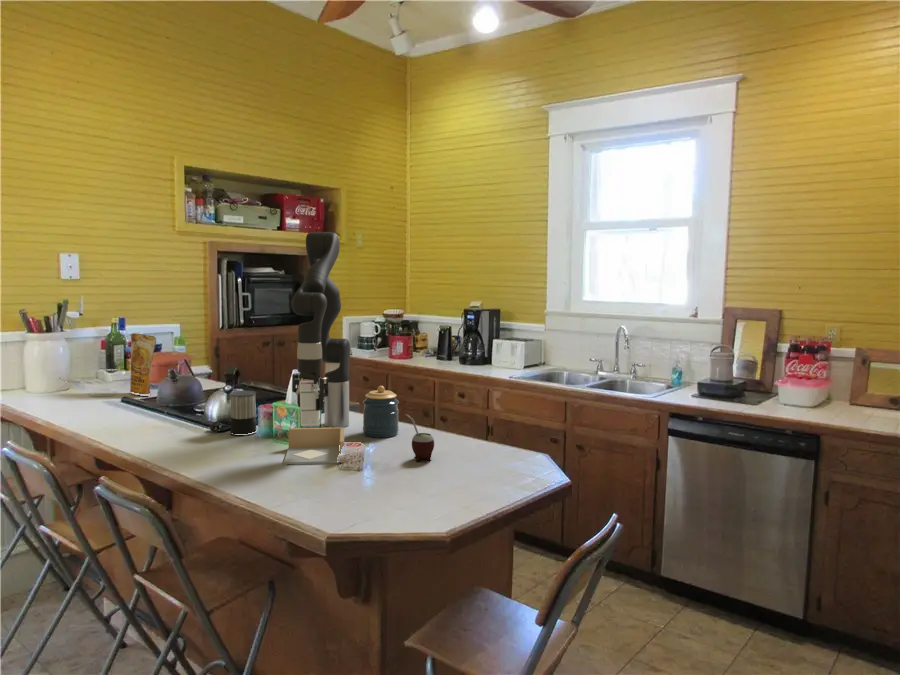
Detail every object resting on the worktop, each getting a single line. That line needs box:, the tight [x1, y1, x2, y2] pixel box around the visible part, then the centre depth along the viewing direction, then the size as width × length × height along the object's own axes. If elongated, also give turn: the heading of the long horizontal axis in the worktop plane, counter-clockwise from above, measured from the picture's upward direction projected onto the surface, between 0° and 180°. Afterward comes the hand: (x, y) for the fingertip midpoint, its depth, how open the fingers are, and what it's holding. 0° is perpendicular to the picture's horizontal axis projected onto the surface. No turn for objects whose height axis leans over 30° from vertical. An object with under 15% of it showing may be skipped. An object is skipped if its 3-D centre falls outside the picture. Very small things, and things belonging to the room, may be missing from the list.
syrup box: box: [299, 379, 321, 427], centre depth 201 cm, size 6×6×14 cm
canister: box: [362, 385, 400, 438], centre depth 233 cm, size 13×13×18 cm
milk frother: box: [209, 390, 257, 434], centre depth 231 cm, size 14×16×15 cm
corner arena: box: [283, 427, 345, 466], centre depth 204 cm, size 18×18×7 cm
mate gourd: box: [404, 413, 435, 463], centre depth 201 cm, size 8×8×15 cm
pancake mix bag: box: [129, 332, 157, 394], centre depth 296 cm, size 7×19×28 cm, turn 51°
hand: (310, 408), depth 201 cm, fingers closed on syrup box, 8 cm apart
